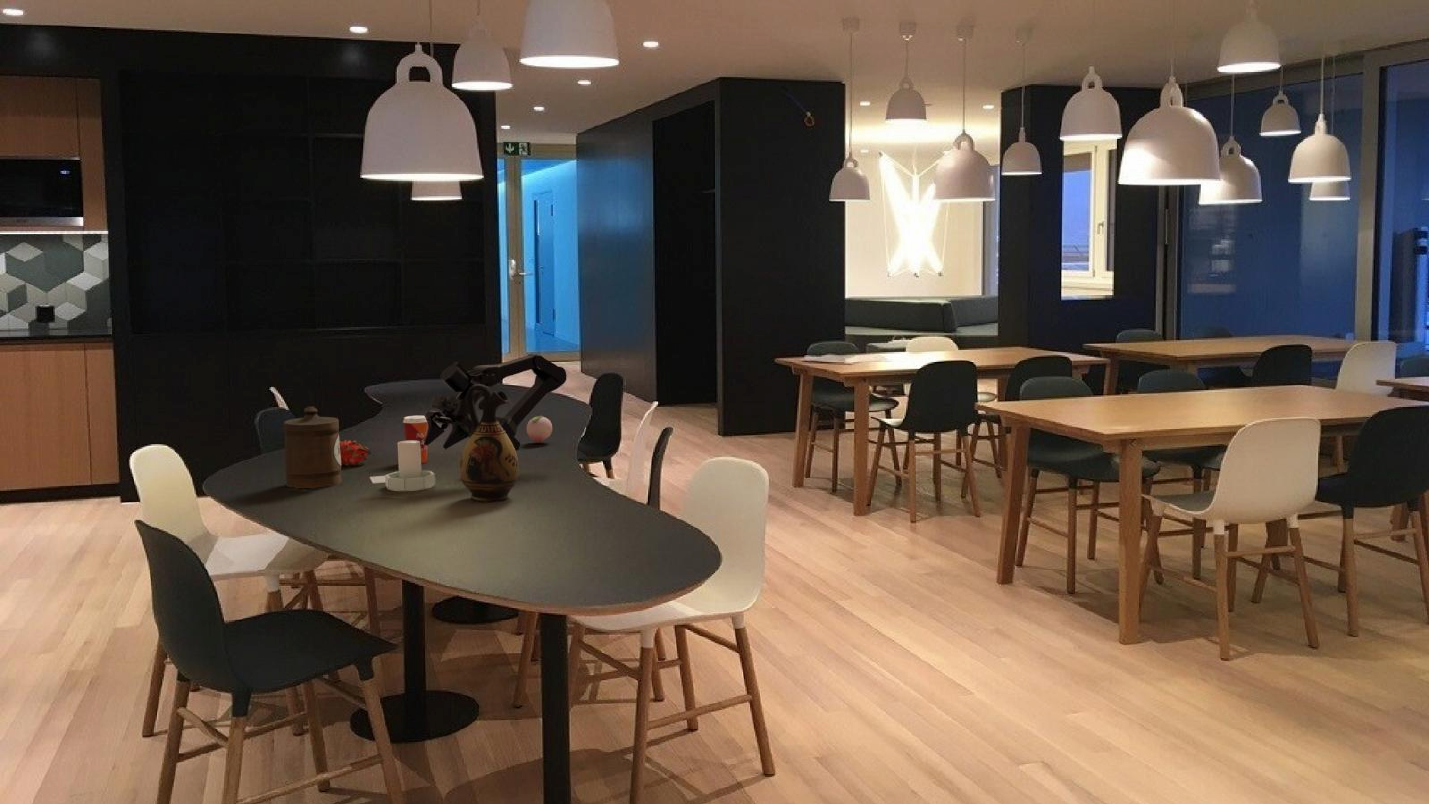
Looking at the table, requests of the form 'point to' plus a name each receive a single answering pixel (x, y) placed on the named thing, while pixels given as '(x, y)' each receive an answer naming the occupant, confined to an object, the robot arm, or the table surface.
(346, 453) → the dragon fruit
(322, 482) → the wooden container
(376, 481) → the mat
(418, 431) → the paper cup
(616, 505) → the table surface
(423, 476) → the bowl
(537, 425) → the decorative fruit
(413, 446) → the white cylinder
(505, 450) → the ceramic jug
